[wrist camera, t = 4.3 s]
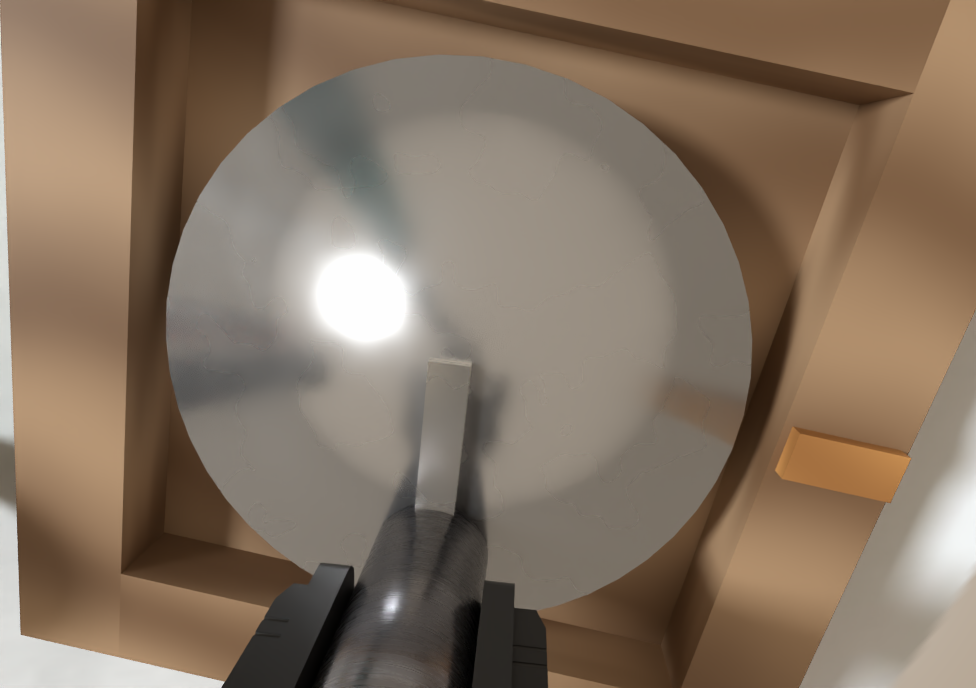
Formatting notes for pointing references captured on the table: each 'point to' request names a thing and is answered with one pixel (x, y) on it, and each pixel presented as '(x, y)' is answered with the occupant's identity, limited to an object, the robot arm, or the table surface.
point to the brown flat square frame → (638, 91)
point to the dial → (456, 348)
